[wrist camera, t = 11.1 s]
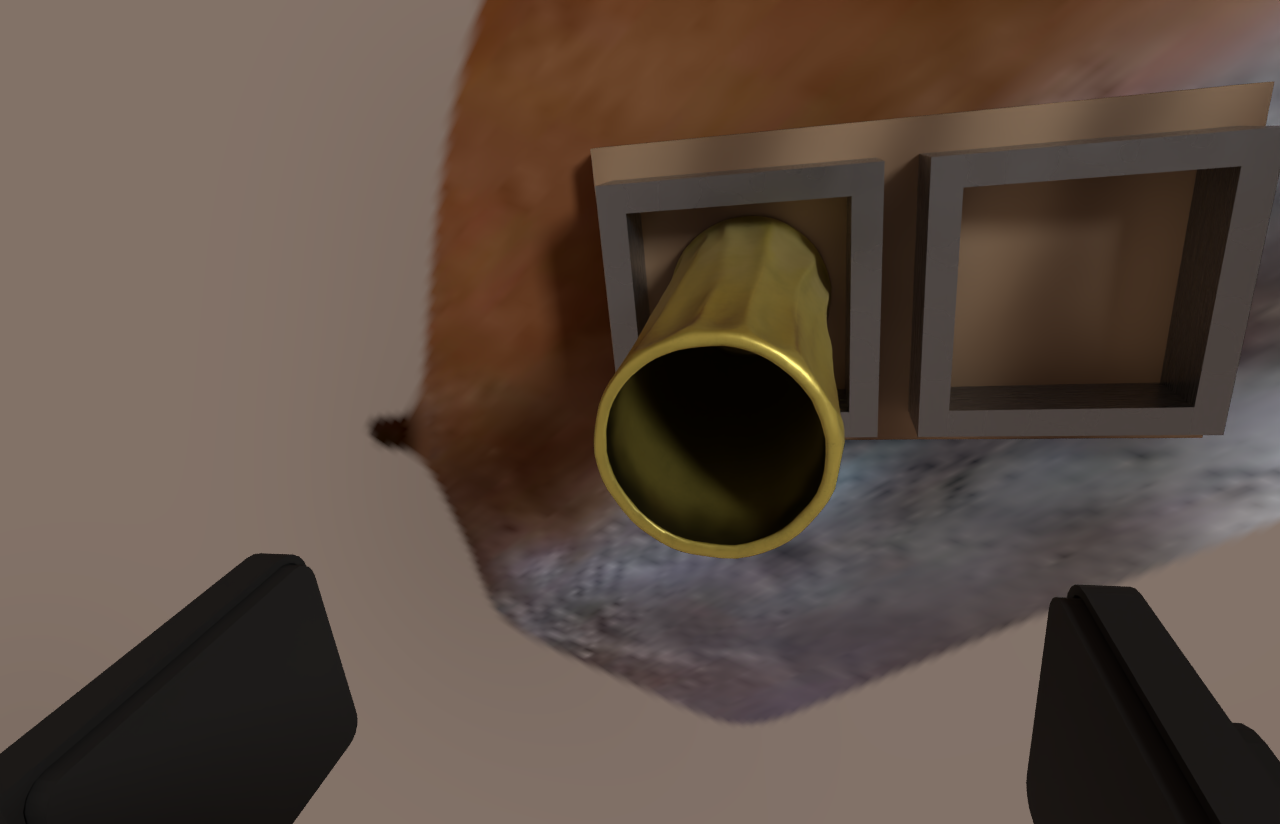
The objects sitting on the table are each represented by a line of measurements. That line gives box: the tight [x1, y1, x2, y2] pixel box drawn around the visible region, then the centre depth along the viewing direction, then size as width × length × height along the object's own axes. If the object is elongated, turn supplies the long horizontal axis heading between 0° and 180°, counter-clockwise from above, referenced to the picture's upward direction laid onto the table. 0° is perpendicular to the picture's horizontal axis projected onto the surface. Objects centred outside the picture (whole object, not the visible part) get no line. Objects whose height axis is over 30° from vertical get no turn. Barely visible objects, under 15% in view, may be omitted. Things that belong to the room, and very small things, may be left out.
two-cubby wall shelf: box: [595, 126, 1280, 437], centre depth 25 cm, size 21×10×3 cm, turn 95°
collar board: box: [590, 82, 1274, 440], centre depth 27 cm, size 22×12×1 cm, turn 95°
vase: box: [594, 216, 845, 559], centre depth 21 cm, size 6×6×14 cm
